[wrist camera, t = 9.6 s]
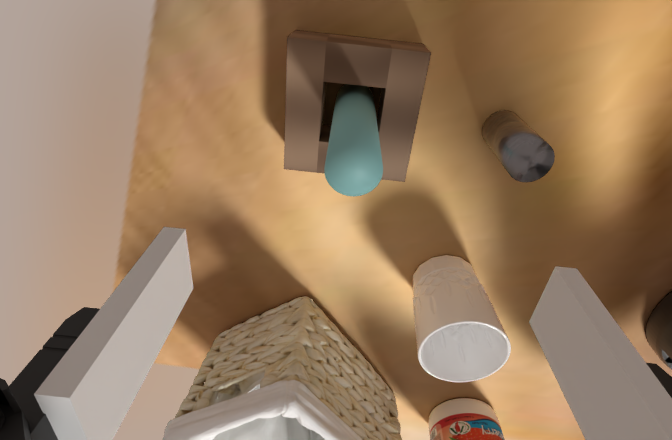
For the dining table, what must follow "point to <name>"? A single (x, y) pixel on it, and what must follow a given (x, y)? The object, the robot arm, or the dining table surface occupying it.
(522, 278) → the dining table surface
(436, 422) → the fruit juice
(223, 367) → the storage basket
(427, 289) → the white cup
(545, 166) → the short pin
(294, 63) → the hole block
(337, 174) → the long pin
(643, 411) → the robot arm
